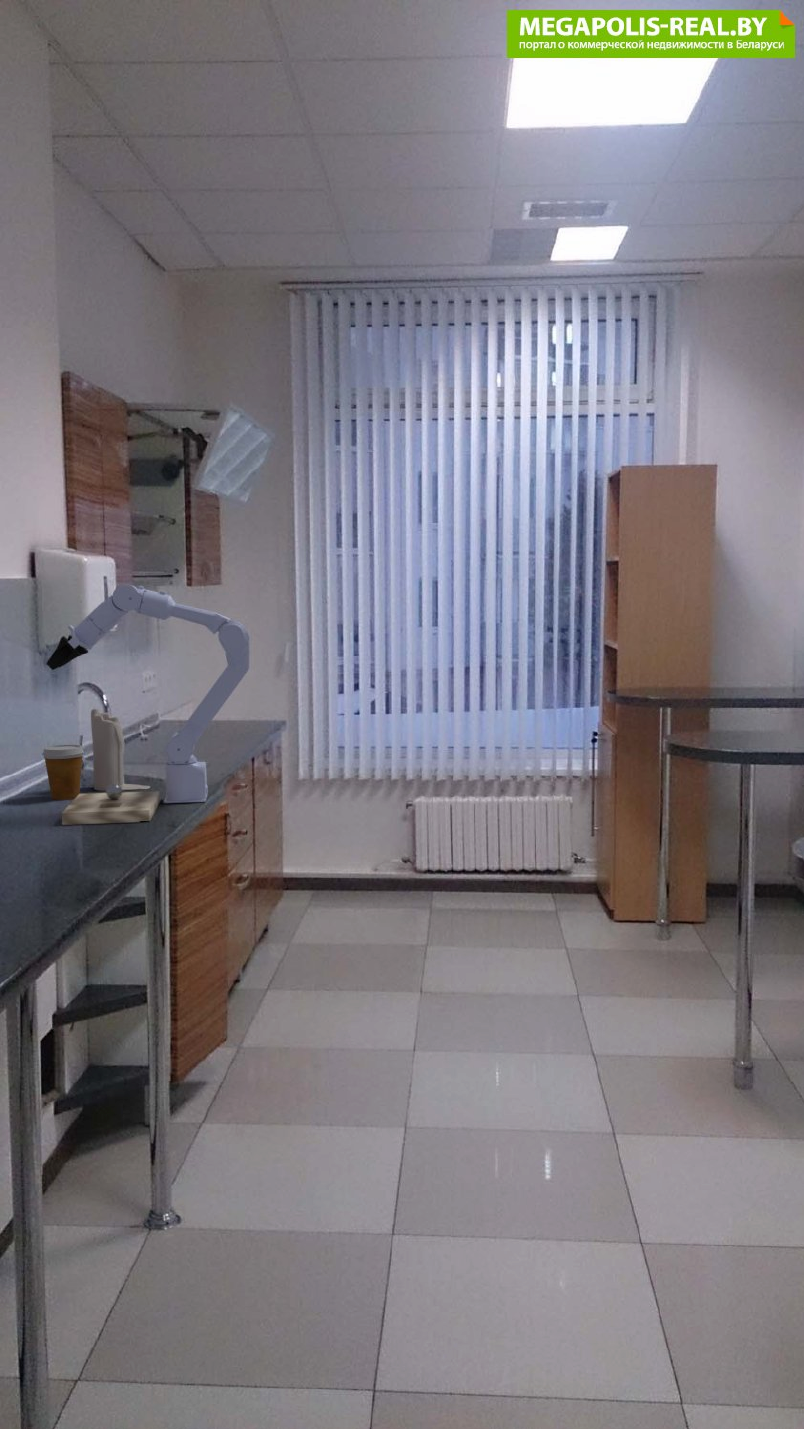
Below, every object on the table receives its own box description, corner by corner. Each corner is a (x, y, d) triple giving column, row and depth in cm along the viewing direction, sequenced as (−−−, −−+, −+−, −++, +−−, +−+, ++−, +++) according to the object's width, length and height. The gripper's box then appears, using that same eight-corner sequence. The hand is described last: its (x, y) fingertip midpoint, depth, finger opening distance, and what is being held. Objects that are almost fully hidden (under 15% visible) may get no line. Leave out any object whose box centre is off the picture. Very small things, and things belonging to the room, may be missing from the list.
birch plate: (160, 801, 262) (159, 791, 262) (149, 821, 240) (149, 809, 240) (80, 804, 260) (79, 793, 260) (62, 824, 238) (61, 813, 238)
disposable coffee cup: (92, 793, 274) (90, 744, 272) (77, 801, 264) (74, 750, 263) (54, 793, 275) (51, 744, 273) (37, 801, 265) (35, 750, 264)
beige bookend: (147, 790, 277) (143, 708, 274) (90, 791, 277) (86, 709, 275) (154, 785, 284) (151, 705, 282) (99, 785, 284) (95, 706, 282)
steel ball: (123, 797, 254) (122, 782, 254) (121, 800, 251) (120, 784, 250) (107, 798, 254) (106, 782, 253) (105, 801, 250) (104, 785, 250)
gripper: (89, 610, 263) (46, 650, 263) (78, 612, 249) (33, 654, 249) (111, 633, 264) (68, 673, 264) (101, 636, 250) (56, 678, 250)
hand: (52, 665), depth 257 cm, fingers open, 7 cm apart
